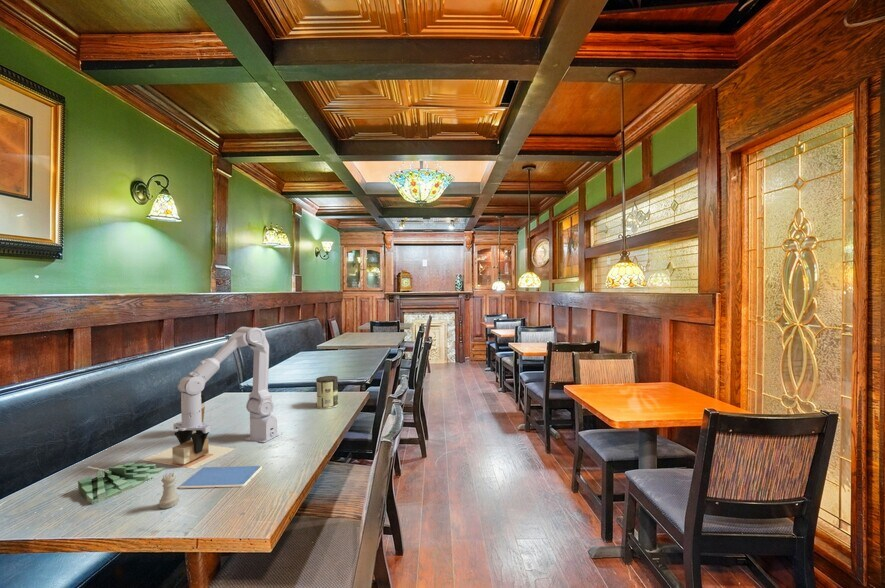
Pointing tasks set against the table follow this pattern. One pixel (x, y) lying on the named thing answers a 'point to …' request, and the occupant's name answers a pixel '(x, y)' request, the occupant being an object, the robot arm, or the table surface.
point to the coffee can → (327, 392)
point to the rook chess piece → (168, 492)
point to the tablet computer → (221, 477)
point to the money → (116, 481)
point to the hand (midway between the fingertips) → (192, 451)
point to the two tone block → (187, 452)
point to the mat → (167, 458)
